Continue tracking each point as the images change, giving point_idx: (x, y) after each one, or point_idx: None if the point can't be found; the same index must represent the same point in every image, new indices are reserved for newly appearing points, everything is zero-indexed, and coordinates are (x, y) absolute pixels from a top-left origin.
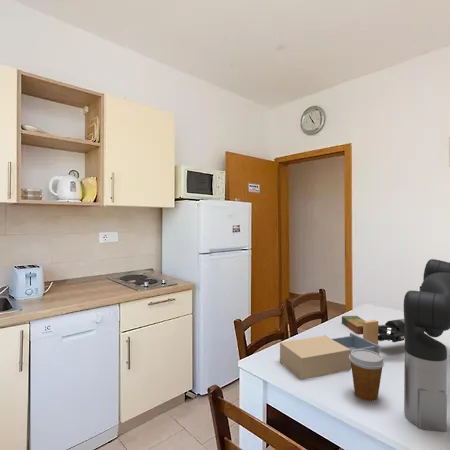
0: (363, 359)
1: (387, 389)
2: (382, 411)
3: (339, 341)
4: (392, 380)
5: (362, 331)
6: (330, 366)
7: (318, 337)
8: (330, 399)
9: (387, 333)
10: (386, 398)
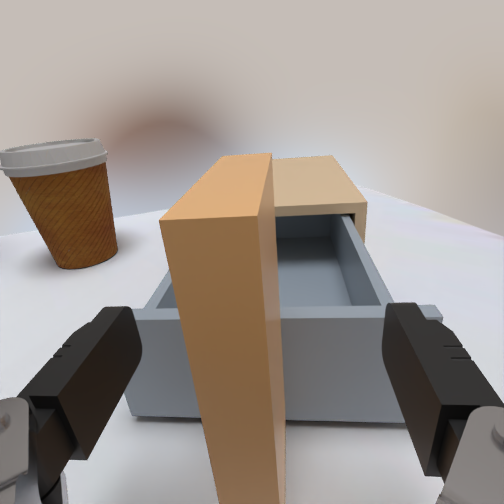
0: (55, 146)
1: (38, 300)
2: (37, 251)
3: (354, 267)
4: (25, 348)
5: (384, 342)
6: None
7: (347, 189)
8: (143, 220)
9: (13, 419)
10: (34, 276)
